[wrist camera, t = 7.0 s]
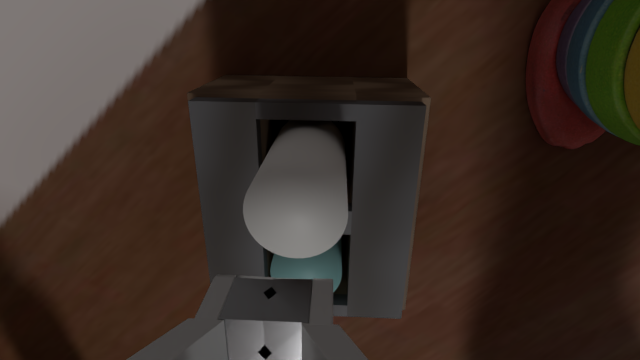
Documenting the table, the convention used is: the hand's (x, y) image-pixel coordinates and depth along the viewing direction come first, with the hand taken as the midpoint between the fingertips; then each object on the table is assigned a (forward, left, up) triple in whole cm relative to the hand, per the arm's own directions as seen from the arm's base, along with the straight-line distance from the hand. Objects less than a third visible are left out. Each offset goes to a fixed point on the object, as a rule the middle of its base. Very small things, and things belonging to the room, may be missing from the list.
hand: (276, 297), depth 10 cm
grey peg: (0, 0, -13) cm, 13 cm away
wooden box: (0, +3, -18) cm, 18 cm away
